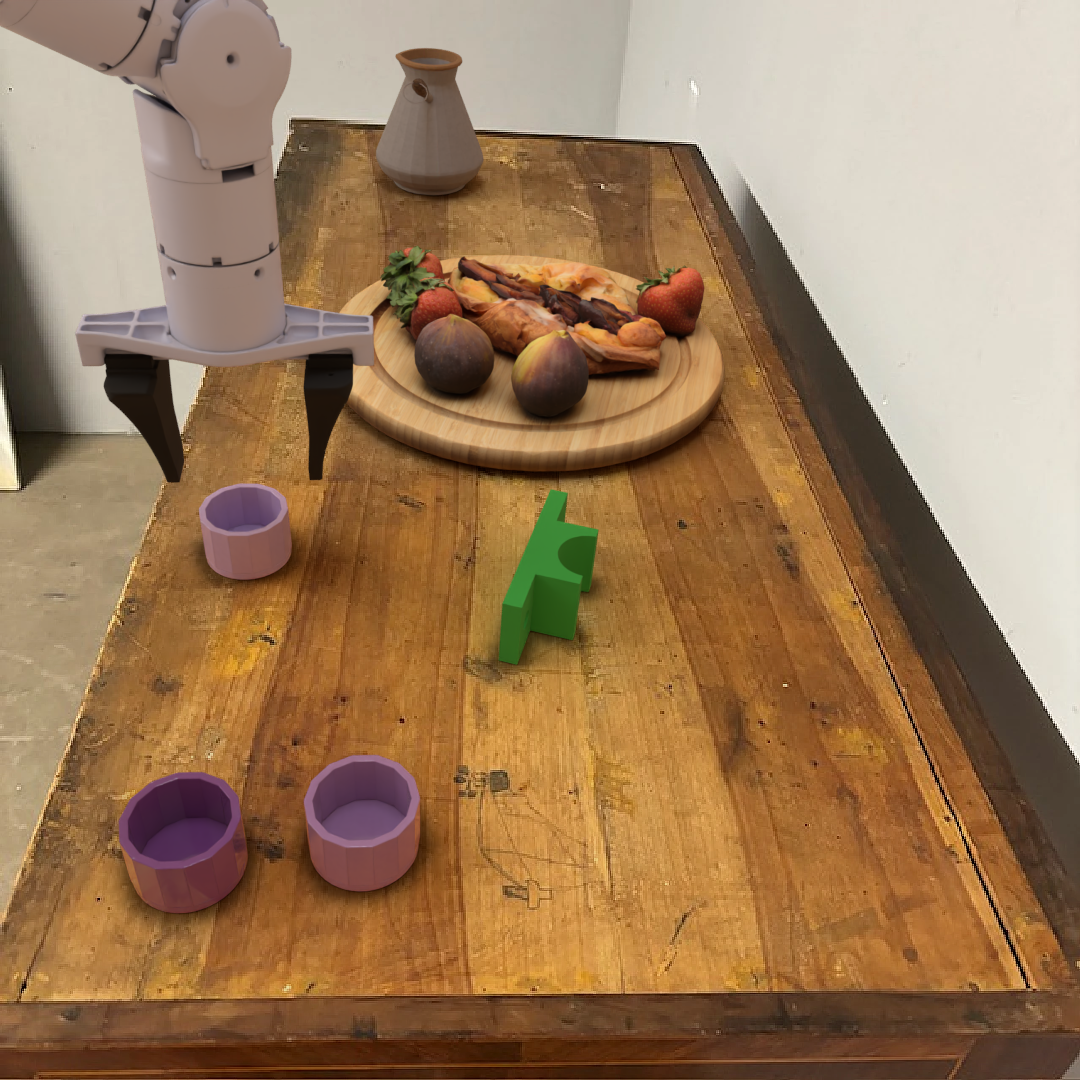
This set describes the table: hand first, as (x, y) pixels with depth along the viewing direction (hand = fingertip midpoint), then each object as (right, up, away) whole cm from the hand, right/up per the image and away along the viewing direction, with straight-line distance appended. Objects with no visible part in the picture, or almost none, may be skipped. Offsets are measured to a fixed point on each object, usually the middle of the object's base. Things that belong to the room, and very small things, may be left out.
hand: (246, 471), depth 61 cm
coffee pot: (+4, +32, +53) cm, 62 cm away
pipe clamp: (+17, -8, +6) cm, 20 cm away
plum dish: (0, -19, -10) cm, 21 cm away
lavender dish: (-2, -5, +7) cm, 9 cm away
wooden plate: (+15, +10, +28) cm, 33 cm away
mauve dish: (+8, -19, -9) cm, 22 cm away
